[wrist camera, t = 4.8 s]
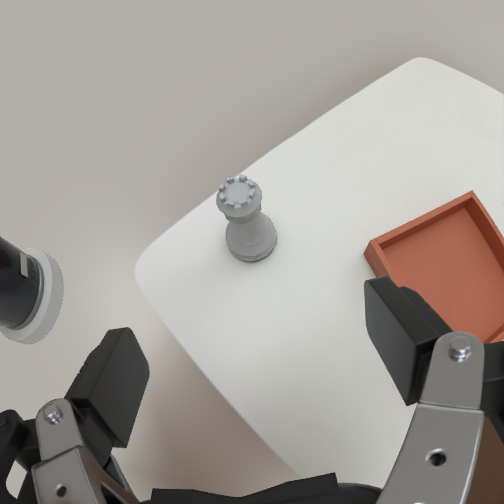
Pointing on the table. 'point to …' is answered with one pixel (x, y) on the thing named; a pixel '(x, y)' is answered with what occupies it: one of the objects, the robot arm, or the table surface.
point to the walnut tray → (488, 469)
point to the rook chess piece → (245, 219)
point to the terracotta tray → (449, 265)
